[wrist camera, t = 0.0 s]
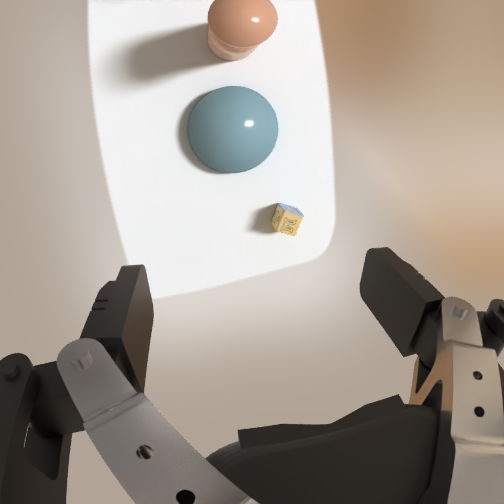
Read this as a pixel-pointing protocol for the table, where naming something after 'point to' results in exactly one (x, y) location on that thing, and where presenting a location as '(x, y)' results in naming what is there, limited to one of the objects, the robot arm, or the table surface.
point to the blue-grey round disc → (232, 129)
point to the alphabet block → (287, 219)
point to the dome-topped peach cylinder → (239, 26)
